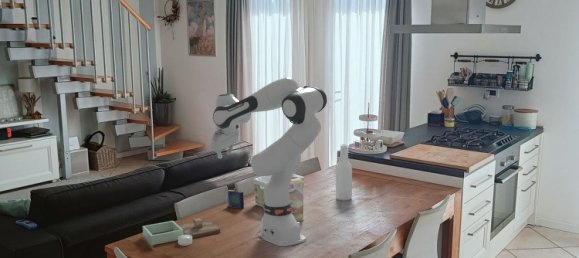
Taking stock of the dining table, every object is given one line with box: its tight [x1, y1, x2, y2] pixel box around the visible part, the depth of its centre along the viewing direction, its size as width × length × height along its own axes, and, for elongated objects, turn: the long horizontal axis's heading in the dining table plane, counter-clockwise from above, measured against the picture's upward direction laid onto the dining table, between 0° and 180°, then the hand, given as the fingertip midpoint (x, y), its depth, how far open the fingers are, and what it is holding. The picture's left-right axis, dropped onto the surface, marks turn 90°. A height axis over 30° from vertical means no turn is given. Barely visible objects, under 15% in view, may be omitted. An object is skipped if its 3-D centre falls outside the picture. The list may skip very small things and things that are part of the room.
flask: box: [227, 186, 245, 210], centre depth 273 cm, size 9×3×11 cm, turn 65°
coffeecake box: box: [289, 179, 304, 222], centre depth 252 cm, size 15×7×20 cm, turn 105°
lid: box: [178, 217, 221, 239], centre depth 237 cm, size 15×15×5 cm
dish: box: [142, 220, 184, 248], centre depth 230 cm, size 14×14×5 cm
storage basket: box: [252, 173, 306, 209], centre depth 278 cm, size 24×16×15 cm
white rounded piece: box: [177, 235, 193, 247], centre depth 223 cm, size 6×6×4 cm
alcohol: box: [335, 143, 353, 201], centre depth 285 cm, size 9×9×30 cm
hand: (225, 155), depth 249 cm, fingers open, 8 cm apart
